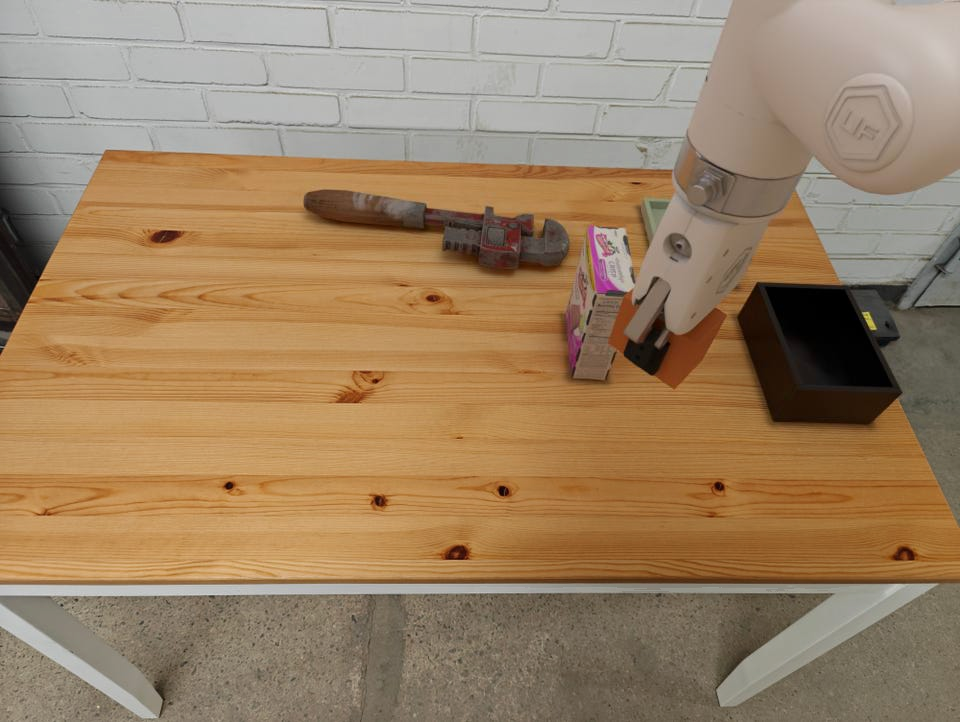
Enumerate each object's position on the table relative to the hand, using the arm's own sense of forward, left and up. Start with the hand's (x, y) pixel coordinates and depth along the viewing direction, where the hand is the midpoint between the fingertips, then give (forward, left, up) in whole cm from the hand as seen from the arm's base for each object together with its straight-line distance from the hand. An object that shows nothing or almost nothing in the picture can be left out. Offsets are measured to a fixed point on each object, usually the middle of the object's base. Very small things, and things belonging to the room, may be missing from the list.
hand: (657, 346), depth 54 cm
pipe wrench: (+42, -12, -23) cm, 49 cm away
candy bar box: (+13, -13, -23) cm, 30 cm away
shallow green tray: (+15, -41, -23) cm, 49 cm away
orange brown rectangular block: (0, 0, -1) cm, 1 cm away
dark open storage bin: (-9, -32, -23) cm, 40 cm away
